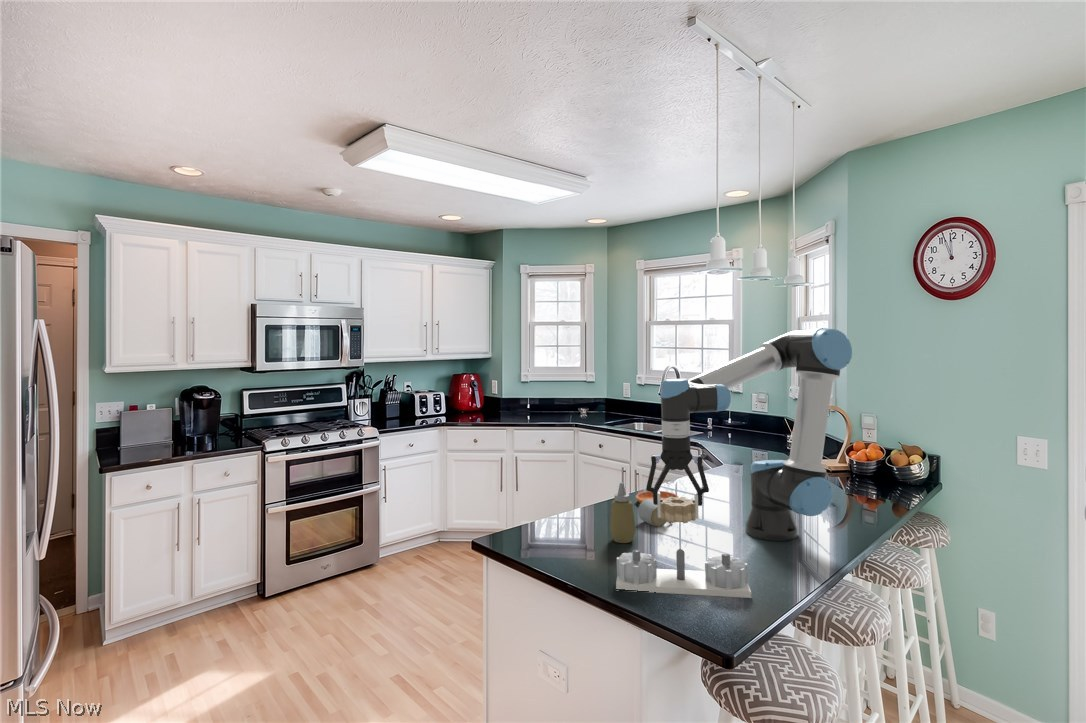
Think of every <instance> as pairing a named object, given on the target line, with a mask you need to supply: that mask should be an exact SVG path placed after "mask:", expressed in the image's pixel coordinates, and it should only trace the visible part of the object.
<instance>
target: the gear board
mask: <svg viewBox="0 0 1086 723" xmlns="http://www.w3.org/2000/svg"><path fill="white" fill-rule="evenodd" d="M675 552H676V553H675V554H676V555H675V556H676V569H671V568H670V569H666V568H657V558H654V557H653V555H652V554H650V553H644V552H641V550H639V549H633V550H632V552H623V553H621V555H620V556H617V557H616V581H615V590H616V589H625V590H638V591H649V592H648V593H654V592H656V594H657V593H658V594H673V595H675V594H676V595H691V596H692V595H693V596H694V595H695V596H696V595H697V596H707V597H710V596H711V597H724V598H725V597H727V598H741V599H742V598H743V599H744V598H746V599H752V590H751V588H750V586H749V581H748V578H749V576H748V575H749V573H748V563H747V562H744V561H743V560H741V558H739V557H733V556H732V557H731V555H730V554H729V553H722V554H720V555H719V556H709V557H707V560H705V561H704V570H689V569H686V567H685V565H686V563H685V562H686V561H685V551H684V550H683V549H682V548H679V549H677V550H676V551H675Z"/></svg>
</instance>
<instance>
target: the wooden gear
mask: <svg viewBox="0 0 1086 723" xmlns="http://www.w3.org/2000/svg"><path fill="white" fill-rule="evenodd" d="M660 507H661V519H662V520H668V521H670V522H671V523H673V524H674V523H683V524H688V523H689V522H691V521H693V522H695V521H696V520H697V519H696V511H695V499H693V498H692V499H690V498H686V497H685V496H680V497H679V496H678V497H668V498H666V499H660ZM671 523H670V524H671Z"/></svg>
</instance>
